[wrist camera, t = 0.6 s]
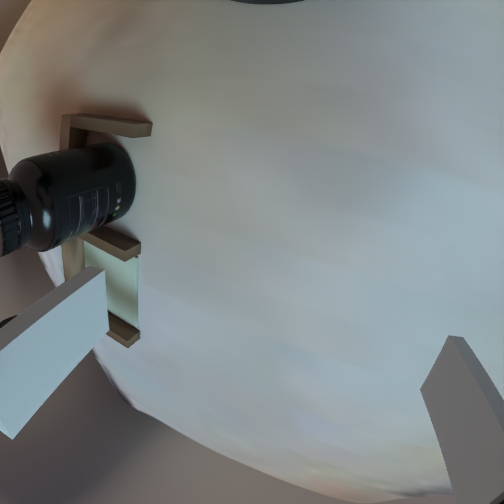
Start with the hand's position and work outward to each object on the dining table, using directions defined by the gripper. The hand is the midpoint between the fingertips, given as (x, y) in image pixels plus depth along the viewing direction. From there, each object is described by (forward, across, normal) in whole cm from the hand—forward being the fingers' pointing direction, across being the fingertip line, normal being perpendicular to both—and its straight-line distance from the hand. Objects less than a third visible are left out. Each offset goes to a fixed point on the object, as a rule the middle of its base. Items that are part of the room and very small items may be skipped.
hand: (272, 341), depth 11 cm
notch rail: (+15, -16, -3) cm, 22 cm away
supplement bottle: (+14, -15, +2) cm, 21 cm away
